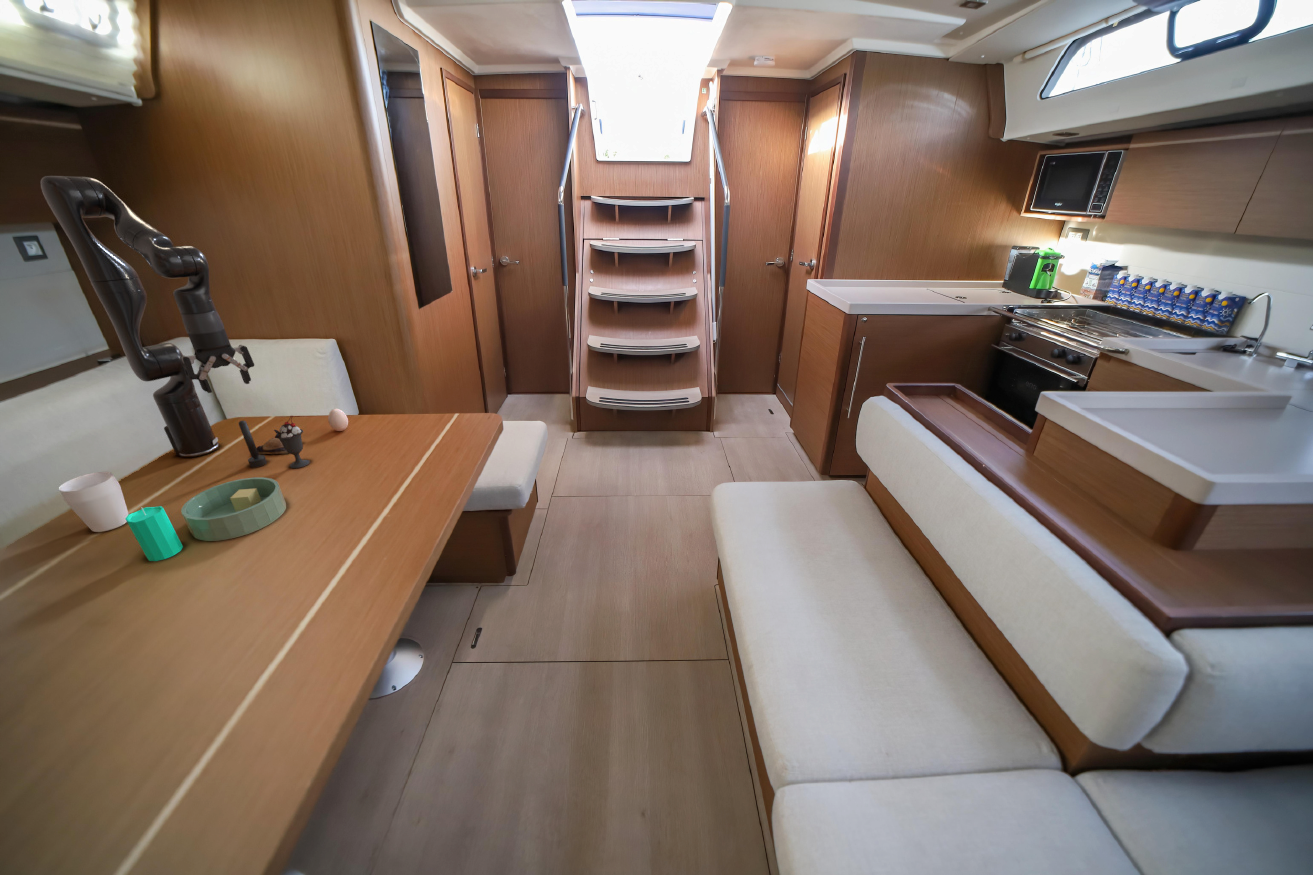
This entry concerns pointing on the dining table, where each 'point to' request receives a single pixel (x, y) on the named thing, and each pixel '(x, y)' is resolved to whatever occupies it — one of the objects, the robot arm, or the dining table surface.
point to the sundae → (292, 442)
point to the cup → (96, 500)
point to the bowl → (232, 510)
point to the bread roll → (272, 447)
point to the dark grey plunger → (251, 447)
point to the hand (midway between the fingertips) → (228, 387)
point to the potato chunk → (245, 499)
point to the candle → (154, 533)
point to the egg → (338, 420)
